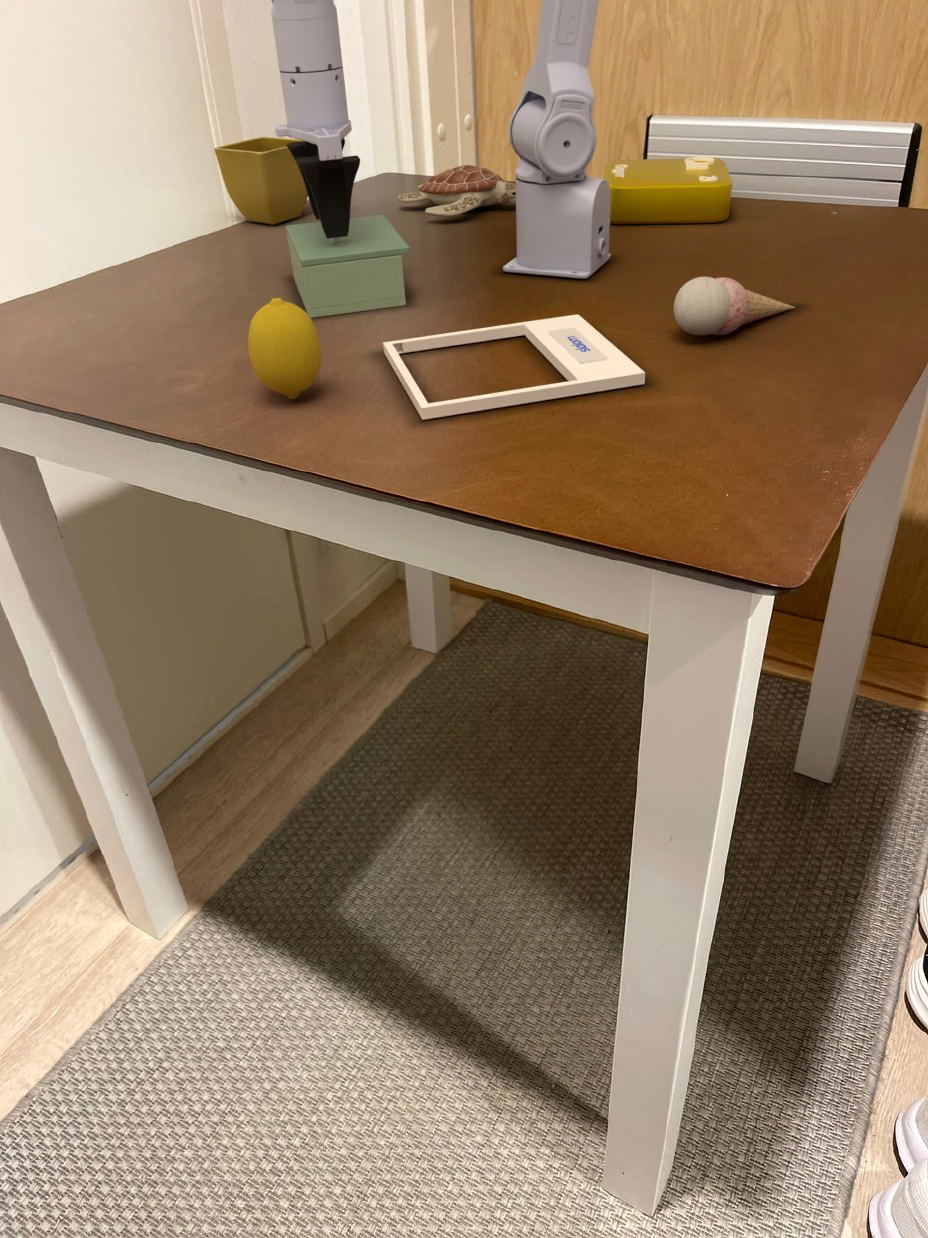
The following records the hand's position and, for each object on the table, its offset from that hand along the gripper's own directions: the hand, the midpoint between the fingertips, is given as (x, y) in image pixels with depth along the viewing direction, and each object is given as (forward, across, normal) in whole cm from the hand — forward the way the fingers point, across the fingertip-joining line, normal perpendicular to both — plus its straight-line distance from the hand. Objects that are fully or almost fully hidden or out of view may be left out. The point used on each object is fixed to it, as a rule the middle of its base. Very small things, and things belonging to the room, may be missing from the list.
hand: (331, 226), depth 93 cm
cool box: (+6, 0, +1) cm, 6 cm away
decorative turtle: (+7, -29, +21) cm, 36 cm away
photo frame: (+6, +26, +10) cm, 29 cm away
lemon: (+7, +26, -8) cm, 28 cm away
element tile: (+6, -16, +43) cm, 47 cm away
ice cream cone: (+7, +25, +32) cm, 41 cm away
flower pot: (+7, -34, -4) cm, 35 cm away
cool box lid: (+2, 0, +1) cm, 2 cm away
